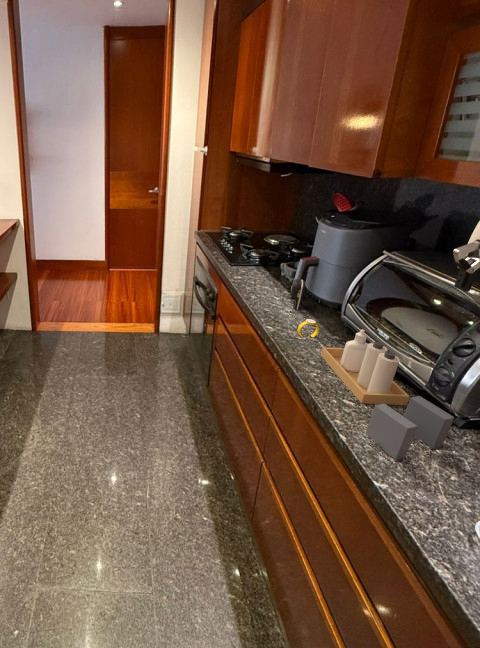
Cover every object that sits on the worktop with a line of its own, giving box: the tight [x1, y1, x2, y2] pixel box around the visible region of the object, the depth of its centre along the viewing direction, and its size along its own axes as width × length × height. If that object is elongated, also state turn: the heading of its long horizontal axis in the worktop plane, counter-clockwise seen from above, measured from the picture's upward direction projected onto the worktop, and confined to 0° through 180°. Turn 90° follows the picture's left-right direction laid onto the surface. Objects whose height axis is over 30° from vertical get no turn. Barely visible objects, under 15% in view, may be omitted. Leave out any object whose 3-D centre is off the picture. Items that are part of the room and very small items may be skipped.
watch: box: [297, 318, 320, 338], centre depth 121 cm, size 6×3×6 cm, turn 87°
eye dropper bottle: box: [340, 329, 369, 372], centre depth 103 cm, size 4×6×12 cm
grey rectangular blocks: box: [365, 395, 455, 461], centre depth 80 cm, size 12×7×8 cm, turn 105°
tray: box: [320, 347, 411, 406], centre depth 101 cm, size 21×10×3 cm, turn 176°
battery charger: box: [289, 278, 306, 314], centre depth 138 cm, size 7×4×11 cm, turn 155°
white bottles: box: [357, 341, 400, 394], centre depth 94 cm, size 8×4×12 cm, turn 176°
